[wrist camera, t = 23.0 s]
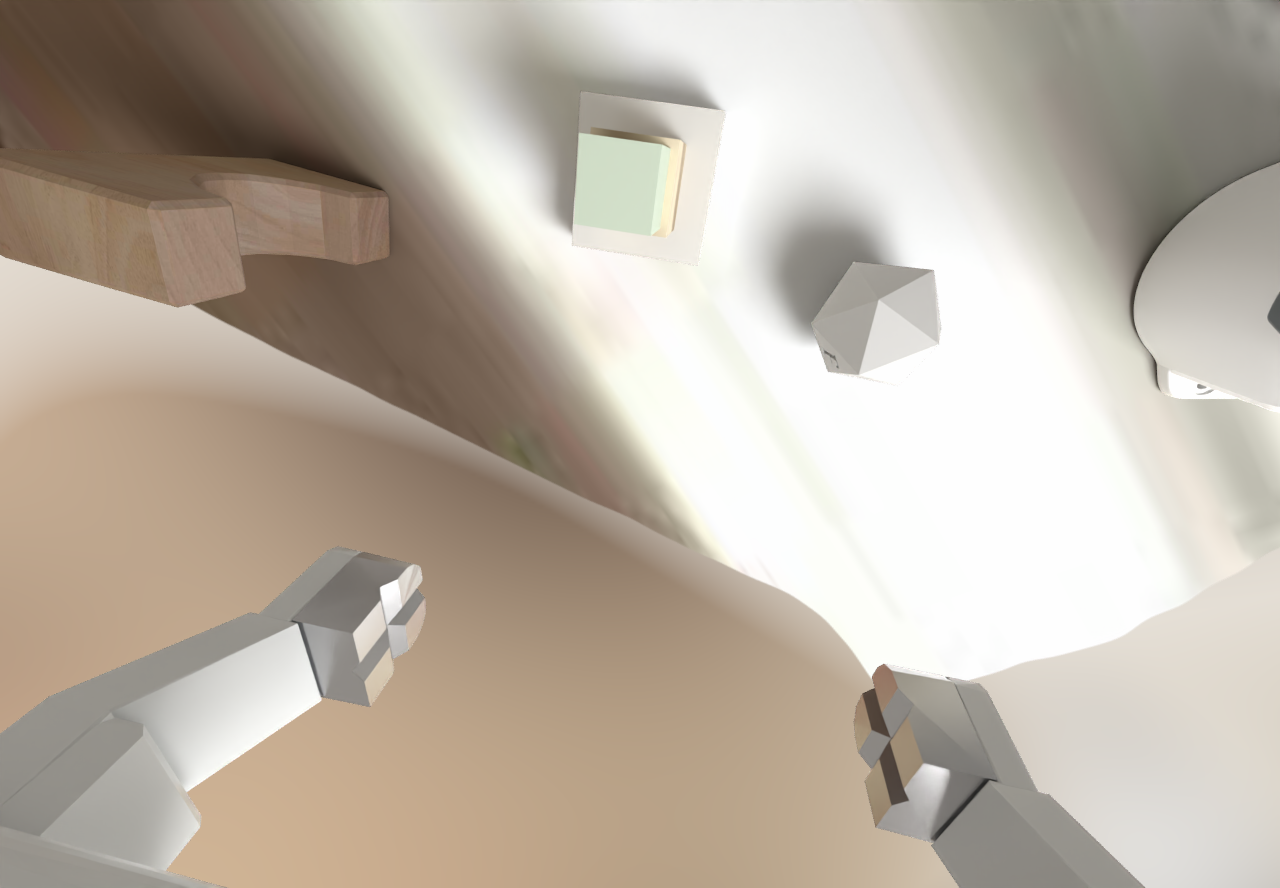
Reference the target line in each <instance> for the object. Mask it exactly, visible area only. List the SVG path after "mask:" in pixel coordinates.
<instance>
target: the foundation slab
mask: <svg viewBox="0 0 1280 888" xmlns="http://www.w3.org/2000/svg"><path fill="white" fill-rule="evenodd" d="M724 121H725V111H723V110H716V109H709V108H701V107H694V106H687V105H679V104H672V103H665V102H657V101H650V100H643V99H635V98H628V97H621V96H614V95H606V94H599V93H592V92H584V91H580V105H579V123H578V141H577V159H576V177H575V195H576V178H577V160H578V142H579V133H585V134H590V131H591V127H595V128H602V129H609V130H616V131H623V132H630V133H637V134H644V135H651V136H657V137H664V138H671V139H678V140H681V141H682V142H684V143H685V144H686V145H687V147H686V153H685V160H684V167H683V173H682V180H681V187H680V193H679V200H678V207H677V213H676V220H675V226H674V230H673V231H672V232H671V233H670V234H669V235H668V236H667V237H666V238H664V237H658V236H652V235H651V236H647V235H640V234H634V233H627V232H621V231H615V230H608V229H602V228H596V227H589V226H583V225H577V224H574V213H575V195H574V213H573V231H572V246H577V247H583V248H590V249H596V250H602V251H608V252H614V253H621V254H627V255H633V256H639V257H645V258H652V259H658V260H664V261H670V262H677V263H683V264H689V265H695V266H698V264H699V261H700V256H701V250H702V244H703V239H704V233H705V228H706V222H707V216H708V211H709V205H710V199H711V194H712V188H713V183H714V177H715V171H716V166H717V160H718V154H719V149H720V143H721V138H722V132H723V126H724Z"/></svg>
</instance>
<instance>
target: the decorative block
mask: <svg viewBox="0 0 1280 888" xmlns="http://www.w3.org/2000/svg"><path fill="white" fill-rule="evenodd" d="M249 254H281V255H298V256H307V257H315V258H324V259H330V260H335V261H339V262H344V263H348V264H353V265H358V264H362V263H367V262H371V261H375V260H379V259H383V258H386V257H388V256H389V255H390V247H389V197H388V195H387V194H386V193H385V191H382V190H378V189H375V188H371V187H368V186H364V185H361V184H357V183H354V182H350V181H347V180H343V179H340V178H336V177H333V176H329V175H325V174H322V173H318V172H315V171H311V170H308V169H304V168H300V167H297V166H293V165H290V164H286V163H283V162H279V161H276V160H272V159H263V158H238V157H213V156H187V155H160V154H135V153H109V152H84V151H58V150H32V149H6V148H0V255H2V256H4V257H6V258H9V259H12V260H16V261H19V262H22V263H26V264H29V265H33V266H36V267H40V268H43V269H46V270H50V271H53V272H57V273H60V274H63V275H67V276H71V277H74V278H77V279H81V280H84V281H87V282H91V283H94V284H98V285H101V286H105V287H108V288H112V289H115V290H119V291H122V292H126V293H129V294H133V295H136V296H140V297H143V298H146V299H150V300H153V301H157V302H160V303H164V304H167V305H171V306H174V307H181V306H186V305H190V304H194V303H198V302H203V301H207V300H211V299H215V298H219V297H224V296H228V295H232V294H236V293H240V292H242V291H243V290H244V289H245V288H246V284H245V278H244V272H243V266H242V260H241V255H249Z"/></svg>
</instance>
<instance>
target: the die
mask: <svg viewBox="0 0 1280 888" xmlns="http://www.w3.org/2000/svg"><path fill="white" fill-rule="evenodd" d="M811 325H812V328H813V331H814V334H815V336H816V339H817V342H818V345H819V348H820V351H821V353H822V356H823V359H824V362H825V365H826V368H827V370H828V372H832V373H837V374H842V375H847V376H852V377H857V378H862V379H867V380H872V381H877V382H882V383H887V384H892V385H897V386H898V385H899V384H900V383H901V382H902V381H903V380H904V379H905V378H906V377H907V376H908V375H909V374H910V373H911V372H912V371H913V370H914V369H915V368H916V367H917V366H918V365H919V364H920V363H921V362H922V361H923V360H924V359H925V358H926V357H927V356H928V355H929V354H930V353H931V352H932V351H933V350H934V349H935V348H936V347H937V346H938V345H939V340H940V332H941V322H940V314H939V307H938V299H937V291H936V283H935V275H934V270H928V269H919V268H909V267H900V266H891V265H881V264H872V263H862V262H853V263H852V264H851V266H850V267H849V269H848V270H847V272H846V273H845V275H844V276H843V278H842V279H841V280H840V282H839V283H838V285H837V286H836V288H835V289H834V291H833V292H832V294H831V295H830V296H829V298H828V299H827V301H826V302H825V304H824V305H823V307H822V308H821V309H820V311H819V312H818V314H817V315H816V317H815V318H814V320H813V321H812V323H811Z"/></svg>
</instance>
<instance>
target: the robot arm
mask: <svg viewBox="0 0 1280 888" xmlns="http://www.w3.org/2000/svg"><path fill="white" fill-rule="evenodd" d="M1134 321H1135V326H1136V330H1137V333H1138V335H1139V337H1140V339H1141V341H1142V342H1143V344H1144V345H1145V347H1146V348H1147V349H1148V350H1149V352H1150V353H1151V354H1152V355H1153V357H1154V359H1155V361H1156V363H1157V379H1158V385H1159V388H1160V390H1161V391H1162V392H1163V393H1164V394H1166V395H1169V396H1172V397H1175V398H1180V399H1240V400H1243V401H1246V402H1248V403H1251V404H1254V405H1257V406H1259V407H1262V408H1265V409H1268V410H1271V411H1275V412H1280V162H1279V163H1276V164H1274V165H1271V166H1269V167H1266V168H1264V169H1261V170H1258V171H1256V172H1254V173H1251V174H1249V175H1247V176H1245V177H1243V178H1241V179H1239V180H1237V181H1235V182H1233V183H1231V184H1230V185H1228V186H1226V187H1225V188H1223V189H1221V190H1220V191H1218V192H1216V193H1215V194H1214V195H1212V196H1211V197H1209V198H1208V199H1206V200H1205V201H1204V202H1202V203H1201V204H1200V205H1198V206H1197V207H1196V208H1195V209H1194V210H1192V211H1191V212H1190V213H1189V214H1188V215H1187V216H1186V217H1184V218H1183V219H1182V220H1181V221H1180V222H1179V223H1178V224H1177V225H1176V226H1175V227H1174V228H1173V229H1172V231H1171V232H1170V233H1169V234H1168V235H1167V236H1166V238H1165V239H1164V240H1163V241H1162V242H1161V244H1160V245H1159V247H1158V248H1157V249H1156V251H1155V252H1154V254H1153V255H1152V257H1151V258H1150V260H1149V262H1148V264H1147V266H1146V268H1145V270H1144V272H1143V274H1142V276H1141V279H1140V281H1139V284H1138V287H1137V291H1136V295H1135V301H1134ZM1197 384H1199V385H1197ZM421 581H422V574H421V569H420V566H418V565H415V564H411V563H407V562H403V561H399V560H395V559H391V558H386V557H382V556H378V555H374V554H370V553H366V552H361V551H356V550H352V549H348V548H343V547H339V546H337V547H335V548H332V549H330V550H328V551H327V552H325V553H324V554H323V555H322V556H321V557H320V558H319V559H318V560H317V561H315V562H314V563H313V564H312V565H311V566H310V567H309V568H308V569H307V570H306V571H305V572H304V573H302V575H300V576H299V577H298V578H297V579H296V580H295V581H294V582H293V583H292V584H291V585H290V586H288V587H287V588H286V589H285V590H284V591H283V592H282V593H281V594H280V595H279V596H278V597H277V598H276V599H274V600H273V601H272V602H271V603H270V604H269V605H268V606H267V607H266V608H265V609H264V610H263V611H262V612H260V613H259V614H256V613H248V614H245V615H243V616H241V617H238V618H236V619H233V620H231V621H229V622H226V623H224V624H222V625H220V626H217V627H215V628H212V629H210V630H207V631H205V632H202V633H200V634H198V635H195V636H193V637H190V638H188V639H186V640H183V641H181V642H179V643H176V644H174V645H171V646H169V647H166V648H164V649H162V650H160V651H157V652H155V653H152V654H150V655H147V656H145V657H143V658H140V659H138V660H135V661H133V662H131V663H128V664H126V665H123V666H121V667H119V668H116V669H114V670H112V671H109V672H107V673H104V674H102V675H99V676H97V677H95V678H92V679H90V680H88V681H85V682H83V683H80V684H78V685H76V686H73V687H71V688H69V689H66V690H64V691H61V692H59V693H56V694H54V695H52V696H50V697H48V698H46V699H45V700H44V701H43V702H41V703H40V704H39V705H37V706H36V707H35V708H33V709H32V710H31V711H29V712H28V713H27V714H25V715H24V716H23V717H22V718H20V719H19V720H18V721H16V722H15V723H14V724H12V725H11V726H10V727H9V728H7V729H6V730H5V731H3V732H2V733H1V734H0V888H226V887H223V886H219V885H215V884H212V883H208V882H204V881H201V880H197V879H193V878H190V877H186V876H182V875H179V874H175V873H171V872H167V871H166V869H167V868H168V867H169V866H170V864H171V863H172V862H173V861H174V859H175V858H176V857H177V856H178V854H179V853H180V852H181V851H182V849H183V848H184V847H185V845H186V844H187V843H188V841H189V840H190V839H191V838H192V837H193V835H194V834H195V833H196V831H197V830H198V829H199V828H200V826H201V814H200V813H199V811H198V810H197V808H196V807H195V805H194V803H193V802H192V800H191V799H190V797H189V795H188V794H187V792H188V791H189V790H190V789H192V788H193V787H195V786H196V785H198V784H199V783H201V782H202V781H204V780H205V779H207V778H208V777H210V776H211V775H213V774H214V773H215V772H217V771H218V770H220V769H221V768H223V767H224V766H226V765H227V764H229V763H230V762H231V761H233V760H235V759H236V758H238V757H239V756H240V755H242V754H243V753H245V752H246V751H248V750H249V749H251V748H252V747H254V746H255V745H257V744H258V743H260V742H261V741H263V740H264V739H265V738H267V737H268V736H270V735H271V734H273V733H274V732H276V731H277V730H279V729H280V728H282V727H283V726H285V725H286V724H287V723H289V722H290V721H292V720H293V719H295V718H296V717H298V716H299V715H301V714H302V713H303V712H305V711H307V710H308V709H310V708H311V707H312V706H314V705H315V704H317V703H318V702H320V701H321V697H324V698H329V699H333V700H338V701H343V702H348V703H353V704H358V705H363V706H367V707H371V705H372V704H373V702H374V701H375V699H376V698H377V696H378V695H379V694H380V692H381V690H382V689H383V688H384V686H385V685H386V683H387V682H388V680H389V679H390V677H391V676H392V674H393V673H394V664H393V659H394V658H396V657H398V656H399V655H401V654H403V653H405V652H406V651H408V650H409V649H410V648H411V646H412V644H413V643H414V641H415V640H416V638H417V637H418V635H419V632H420V629H421V627H422V624H423V621H424V618H425V611H426V604H425V597H424V596H423V595H422V594H421V593H420V592H419V590H418V589H417V587H418V586H419V584H420V583H421ZM872 680H873V683H874V687H875V688H874V689H871V690H869V691H867V692H865V693H863V694H862V695H861V697H860V700H859V702H858V704H857V706H856V712H855V718H854V730H855V739H856V744H857V749H858V753H859V754H860V755H861V757H862V758H863V759H864V760H865V762H866V763H867V764H868V765H869V767H870V768H871V770H870V772H869V774H868V776H867V778H866V780H865V784H866V789H867V793H868V797H869V802H870V806H871V810H872V814H873V819H874V823H875V827H876V828H879V829H883V830H887V831H890V832H894V833H898V834H902V835H906V836H909V837H913V838H917V839H920V840H924V841H928V842H932V843H933V844H932V845H931V846H932V847H933V849H934V850H935V852H936V853H937V855H938V856H939V858H940V859H941V861H942V862H943V864H944V865H945V866H946V868H947V870H948V871H949V873H950V874H951V875H952V877H953V879H954V880H955V881H956V883H957V884H958V886H959V888H1145V887H1144V886H1143V885H1142V884H1141V883H1140V882H1139V881H1138V880H1137V879H1136V878H1135V877H1134V876H1133V875H1131V874H1130V872H1128V870H1126V869H1125V868H1124V867H1123V866H1122V865H1121V864H1120V863H1119V862H1118V861H1117V860H1116V859H1115V858H1114V857H1113V856H1112V855H1111V854H1110V853H1109V852H1108V851H1107V850H1106V849H1105V848H1104V847H1103V846H1102V845H1101V844H1100V843H1099V842H1098V841H1096V839H1095V838H1094V837H1092V836H1091V835H1090V834H1089V833H1088V832H1087V831H1086V830H1085V829H1084V828H1083V827H1082V826H1081V825H1080V824H1079V823H1078V822H1077V821H1076V820H1075V819H1074V818H1073V817H1072V816H1071V815H1070V814H1069V813H1068V812H1067V811H1066V810H1065V809H1064V808H1063V807H1062V806H1061V805H1060V804H1059V803H1057V801H1055V800H1054V799H1053V798H1052V797H1051V796H1050V795H1049V794H1046V793H1042V792H1039V791H1038V790H1037V788H1036V786H1035V784H1034V782H1033V780H1032V778H1031V776H1030V774H1029V772H1028V771H1027V768H1026V766H1025V764H1024V763H1023V760H1022V758H1021V757H1020V755H1019V753H1018V751H1017V749H1016V747H1015V745H1014V743H1013V741H1012V739H1011V737H1010V735H1009V733H1008V731H1007V729H1006V727H1005V725H1004V723H1003V721H1002V719H1001V718H1000V715H999V713H998V712H997V710H996V708H995V706H994V704H993V702H992V700H991V698H990V696H989V694H988V692H987V691H986V690H985V689H984V688H983V687H982V686H981V685H980V684H979V683H974V682H969V681H964V680H960V679H955V678H950V677H944V676H942V675H937V674H932V673H928V672H923V671H918V670H913V669H908V668H903V667H898V666H893V665H888V664H883V665H881V666H879V667H877V669H876V671H875V672H874V674H873V676H872Z"/></svg>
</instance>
